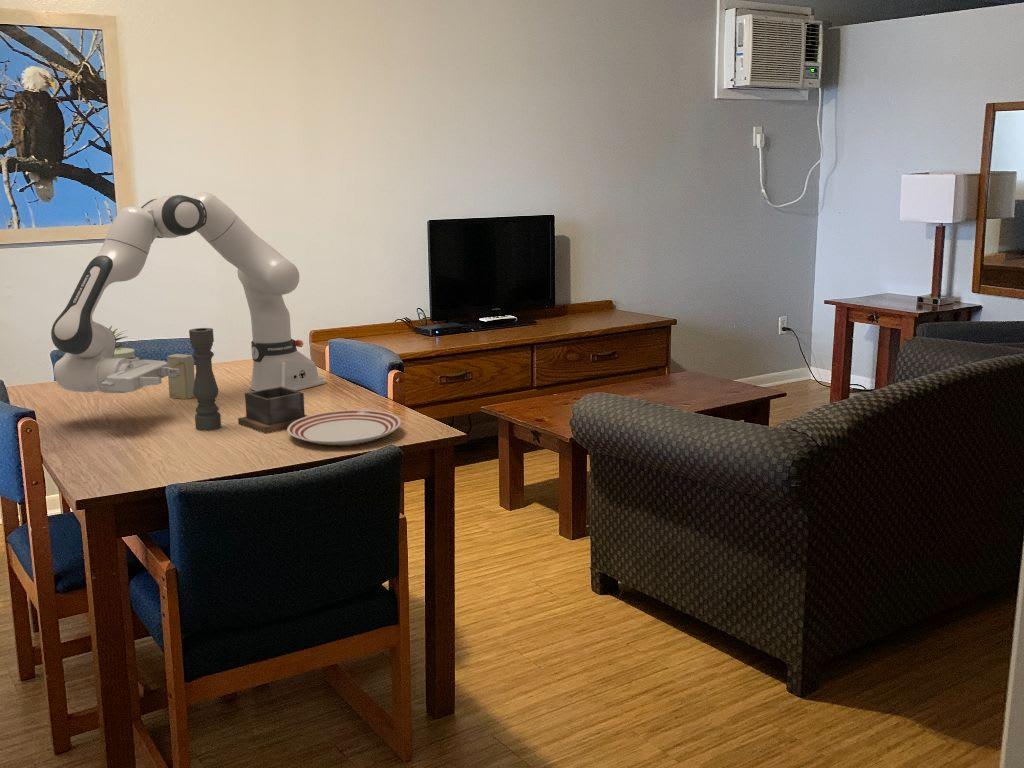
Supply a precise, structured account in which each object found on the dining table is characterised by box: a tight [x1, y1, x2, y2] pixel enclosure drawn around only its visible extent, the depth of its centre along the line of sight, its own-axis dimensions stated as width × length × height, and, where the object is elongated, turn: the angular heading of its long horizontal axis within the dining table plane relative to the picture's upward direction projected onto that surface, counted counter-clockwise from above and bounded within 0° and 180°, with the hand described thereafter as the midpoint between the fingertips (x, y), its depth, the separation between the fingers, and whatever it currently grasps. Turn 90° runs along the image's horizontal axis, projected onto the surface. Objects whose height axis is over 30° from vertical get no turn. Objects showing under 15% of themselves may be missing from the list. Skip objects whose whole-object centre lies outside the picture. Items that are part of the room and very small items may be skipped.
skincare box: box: [166, 353, 196, 400], centre depth 286 cm, size 6×4×12 cm
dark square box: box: [237, 387, 308, 434], centre depth 257 cm, size 14×13×8 cm
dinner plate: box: [286, 409, 402, 446], centre depth 246 cm, size 28×27×3 cm
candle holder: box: [188, 327, 222, 431], centre depth 252 cm, size 6×6×25 cm
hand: (169, 376), depth 253 cm, fingers open, 8 cm apart
